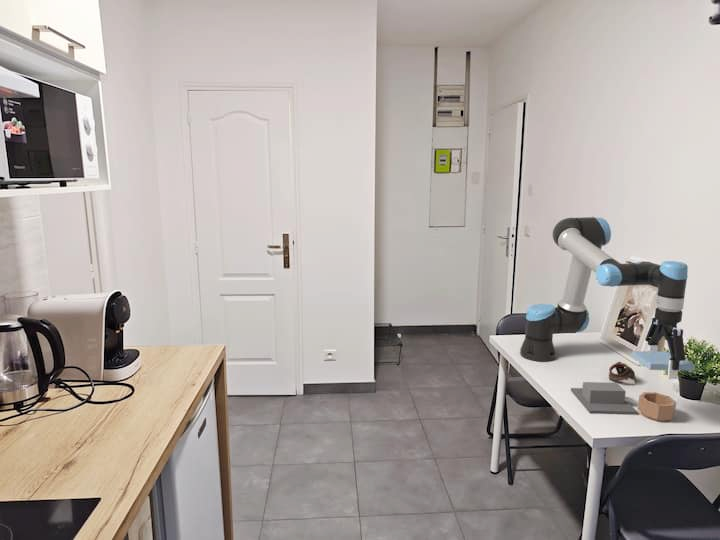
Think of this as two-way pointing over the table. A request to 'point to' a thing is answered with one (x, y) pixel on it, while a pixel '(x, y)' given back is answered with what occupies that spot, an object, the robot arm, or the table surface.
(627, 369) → the brown openwork dome
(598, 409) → the grey stepped plinth
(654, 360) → the cover sheet
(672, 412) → the brown octagonal bowl
